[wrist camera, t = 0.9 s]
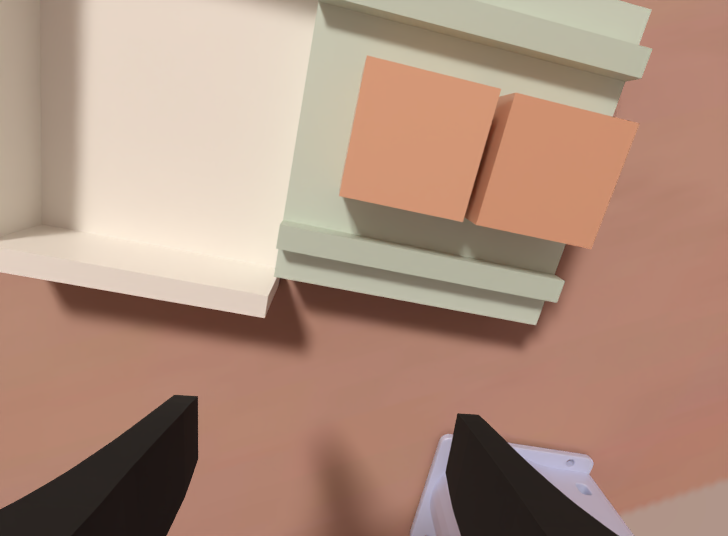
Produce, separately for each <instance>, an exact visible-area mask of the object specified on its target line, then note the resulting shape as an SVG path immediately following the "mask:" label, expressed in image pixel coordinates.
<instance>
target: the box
mask: <svg viewBox="0 0 728 536" xmlns="http://www.w3.org/2000/svg"><path fill="white" fill-rule="evenodd" d="M317 7H318V0H0V272H2V273H8V274H14V275H20V276H25V277H31V278H37V279H43V280H48V281H54V282H60V283H66V284H71V285H77V286H83V287H89V288H94V289H100V290H106V291H112V292H117V293H123V294H129V295H135V296H140V297H146V298H152V299H158V300H163V301H169V302H175V303H181V304H186V305H192V306H198V307H204V308H209V309H215V310H221V311H226V312H232V313H238V314H244V315H249V316H255V317H261V318H265V316H266V314H267V311H268V309H269V307H270V304H271V302H272V300H273V297H274V295H275V293H276V290H277V288H278V286H279V281H280V278H278V277H274V273H275V267H276V260H277V254H278V249H276V246H277V239H278V233H279V227H280V223H281V222H282V221H283V217H284V211H285V205H286V199H287V193H288V186H289V180H290V174H291V168H292V162H293V155H294V149H295V143H296V137H297V131H298V125H299V118H300V112H301V106H302V100H303V94H304V87H305V81H306V75H307V69H308V63H309V57H310V50H311V44H312V38H313V32H314V26H315V20H316V13H317Z"/></svg>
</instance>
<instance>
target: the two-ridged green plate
mask: <svg viewBox="0 0 728 536" xmlns="http://www.w3.org/2000/svg"><path fill="white" fill-rule="evenodd" d="M650 13H651V9H647V8H644V7H640V6H637V5H633V4H630V3H626V2H623V1H619V0H318V7H317V13H316V20H315V26H314V32H313V38H312V44H311V50H310V57H309V63H308V69H307V75H306V81H305V87H304V94H303V100H302V106H301V112H300V118H299V125H298V131H297V137H296V143H295V149H294V155H293V162H292V168H291V174H290V180H289V186H288V193H287V199H286V205H285V211H284V217H283V221H282V222H281V223H280V227H279V233H278V239H277V246H276V249H278V254H277V260H276V267H275V273H274V277H278V278H284V279H289V280H295V281H300V282H305V283H311V284H316V285H321V286H327V287H332V288H338V289H343V290H348V291H354V292H359V293H365V294H370V295H375V296H381V297H386V298H392V299H397V300H402V301H408V302H413V303H419V304H424V305H429V306H435V307H440V308H446V309H451V310H456V311H462V312H467V313H473V314H478V315H483V316H489V317H494V318H500V319H505V320H510V321H516V322H521V323H526V324H532V325H536V324H537V321H538V318H539V316H540V313H541V310H542V307H543V305H544V302H545V301H550V302H555V303H557V301H558V299H559V296H560V293H561V291H562V288H563V285H564V283H565V281H564V280H562V279H561V278H559V277H558V276H556V275H555V272H556V269H557V267H558V264H559V261H560V258H561V256H562V253H563V250H564V247H565V245H566V244H564V243H560V242H555V241H550V240H545V239H541V238H536V237H531V236H526V235H522V234H517V233H512V232H507V231H503V230H498V229H493V228H488V227H484V226H479V225H475V224H474V223H472V222H471V221H469V220H468V219H466V218H465V217H464V220H463V222H460V221H455V220H450V219H446V218H441V217H436V216H431V215H426V214H422V213H417V212H412V211H407V210H403V209H398V208H393V207H388V206H384V205H379V204H374V203H369V202H365V201H360V200H355V199H350V198H346V197H341V196H339V188H340V182H341V177H342V172H343V167H344V162H345V157H346V152H347V147H348V142H349V137H350V132H351V127H352V122H353V116H354V111H355V106H356V101H357V96H358V91H359V86H360V81H361V76H362V71H363V66H364V63H365V60H366V57H367V55H368V56H372V57H376V58H380V59H384V60H388V61H392V62H396V63H400V64H404V65H408V66H412V67H416V68H420V69H424V70H428V71H432V72H436V73H440V74H444V75H448V76H452V77H456V78H460V79H464V80H468V81H472V82H476V83H480V84H484V85H488V86H492V87H496V88H500V89H501V92H500V95H499V97H500V96H504V95H508V94H512V93H520V94H524V95H528V96H532V97H536V98H540V99H544V100H548V101H552V102H556V103H560V104H564V105H568V106H572V107H576V108H580V109H584V110H588V111H592V112H596V113H600V114H604V115H608V116H612V117H613V114H614V111H615V108H616V106H617V103H618V100H619V98H620V95H621V92H622V89H623V87H624V84H625V82H626V81H631V80H636V79H641V78H642V75H643V73H644V70H645V67H646V65H647V62H648V59H649V57H650V54H651V51H652V49H651V48H648V47H644V46H640V45H639V43H640V40H641V38H642V35H643V32H644V29H645V27H646V24H647V21H648V18H649V16H650Z"/></svg>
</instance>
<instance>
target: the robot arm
mask: <svg viewBox="0 0 728 536" xmlns="http://www.w3.org/2000/svg"><path fill="white" fill-rule="evenodd" d="M197 460H198V396H183V395H174V396H172V397H171V398H170V399H168V400H167V401H166V402H164V403H163V404H162V405H160V406H159V407H158V408H156V409H155V410H154V411H152V412H151V413H150V414H148V415H147V416H146V417H145V418H143V419H142V420H141V421H139V422H138V423H137V424H135V425H134V426H133V427H131V428H130V429H129V430H127V431H126V432H124V433H123V434H122V435H120V436H119V437H118V438H116V439H115V440H114V441H112V442H111V443H109V444H108V445H106V446H105V447H103V448H102V449H100V450H99V451H97V452H96V453H94V454H93V455H91V456H90V457H88V458H87V459H85V460H84V461H82V462H81V463H80V464H78V465H77V466H75V467H74V468H72V469H70V470H69V471H67V472H66V473H64V474H62V475H61V476H59V477H57V478H56V479H54V480H52V481H51V482H49V483H47V484H46V485H44V486H42V487H40V488H39V489H37V490H35V491H33V492H32V493H30V494H28V495H26V496H25V497H23V498H21V499H19V500H17V501H16V502H14V503H12V504H10V505H8V506H6V507H4V508H2V509H0V536H166V535H167V533H168V531H169V529H170V527H171V525H172V523H173V521H174V519H175V517H176V514H177V512H178V510H179V508H180V506H181V504H182V502H183V500H184V497H185V495H186V492H187V490H188V487H189V484H190V481H191V478H192V475H193V472H194V469H195V466H196V463H197ZM568 460H570V461H568ZM567 461H568V462H567ZM593 464H594V463H593V460H592V459H591V458H590V457H589V456H588V455H586V454H579V453H573V452H566V451H560V450H553V449H546V448H540V447H533V446H526V445H520V444H513V443H507V442H506V441H505V440H504V439H503V438H502V437H501V436H500V435H499V434H498V433H497V432H496V431H495V430H494V429H493V428H492V427H491V426H490V425H489V424H488V423H487V422H486V421H485V420H484V419H483V418H481V417H480V416H479V415H472V414H457V419H456V424H455V428H454V433H453V434H446V435H443V436H442V437H441V438H440V440H439V443H438V446H437V449H436V452H435V456H434V459H433V462H432V465H431V468H430V471H429V474H428V477H427V480H426V483H425V487H424V490H423V493H422V496H421V499H420V502H419V505H418V508H417V511H416V515H415V518H414V521H413V524H412V527H411V530H410V536H425V535H427V536H634V535H633V533H632V532H631V531H630V529H629V528H628V527H627V525H626V524H625V522H624V521H623V520H622V518H621V517H620V516H619V514H618V513H617V512H616V510H615V509H614V507H613V506H612V505H611V503H610V502H609V501H608V499H607V498H606V497H605V495H604V494H603V492H602V491H601V490H600V488H599V487H598V486H597V484H596V483H595V482H594V480H593V479H592V477H591V476H590V475H589V474H590V471H591V469H592V467H593Z"/></svg>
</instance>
